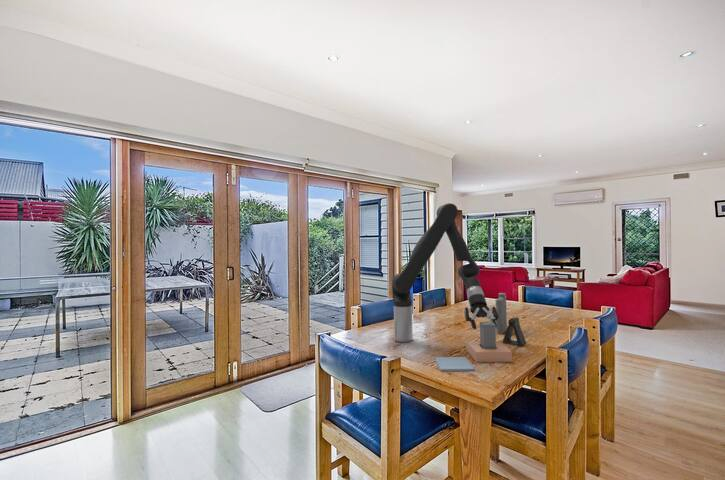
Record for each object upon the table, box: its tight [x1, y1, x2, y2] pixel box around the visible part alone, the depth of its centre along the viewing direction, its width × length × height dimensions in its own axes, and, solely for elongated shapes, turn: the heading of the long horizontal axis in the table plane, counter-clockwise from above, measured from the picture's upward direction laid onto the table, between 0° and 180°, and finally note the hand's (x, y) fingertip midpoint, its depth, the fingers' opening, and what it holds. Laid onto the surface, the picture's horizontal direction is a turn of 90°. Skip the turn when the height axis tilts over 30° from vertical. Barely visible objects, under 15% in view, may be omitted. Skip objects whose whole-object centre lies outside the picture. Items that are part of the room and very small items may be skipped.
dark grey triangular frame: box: [502, 316, 527, 347], centre depth 164 cm, size 9×6×12 cm, turn 48°
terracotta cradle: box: [466, 340, 513, 363], centre depth 147 cm, size 14×14×4 cm
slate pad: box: [434, 356, 476, 372], centre depth 138 cm, size 13×13×1 cm
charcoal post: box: [479, 321, 497, 349], centre depth 147 cm, size 5×5×14 cm
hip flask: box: [495, 292, 508, 335], centre depth 186 cm, size 16×4×20 cm, turn 149°
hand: (484, 328), depth 151 cm, fingers open, 8 cm apart
